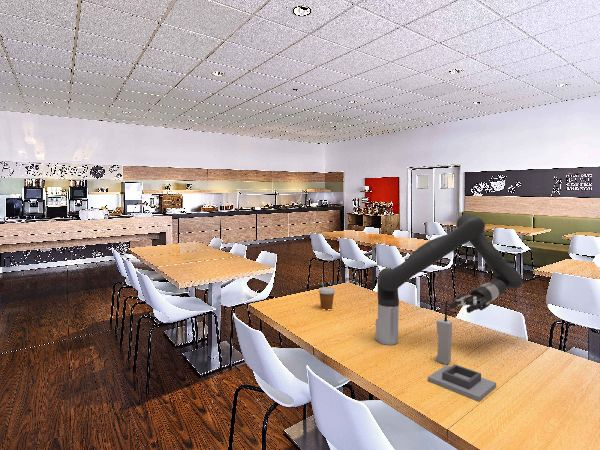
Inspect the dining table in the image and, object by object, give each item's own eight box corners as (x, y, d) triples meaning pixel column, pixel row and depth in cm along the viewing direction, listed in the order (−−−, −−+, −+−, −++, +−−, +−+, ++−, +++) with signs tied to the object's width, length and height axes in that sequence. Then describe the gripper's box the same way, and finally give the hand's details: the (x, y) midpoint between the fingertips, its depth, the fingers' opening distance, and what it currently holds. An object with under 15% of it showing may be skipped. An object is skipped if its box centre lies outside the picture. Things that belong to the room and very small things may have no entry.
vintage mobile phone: (438, 358, 152) (440, 298, 150) (450, 361, 149) (452, 300, 147) (434, 361, 149) (436, 300, 147) (447, 364, 146) (449, 302, 144)
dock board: (427, 380, 133) (427, 370, 133) (446, 368, 143) (446, 358, 142) (479, 401, 120) (479, 389, 120) (496, 386, 129) (496, 375, 129)
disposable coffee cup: (317, 311, 214) (317, 290, 213) (319, 306, 223) (319, 286, 222) (334, 311, 212) (334, 291, 211) (335, 307, 221) (335, 287, 221)
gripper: (468, 283, 166) (443, 297, 159) (497, 288, 153) (471, 303, 146) (472, 299, 166) (447, 313, 160) (501, 305, 154) (475, 320, 147)
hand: (458, 308), depth 153 cm, fingers open, 8 cm apart
